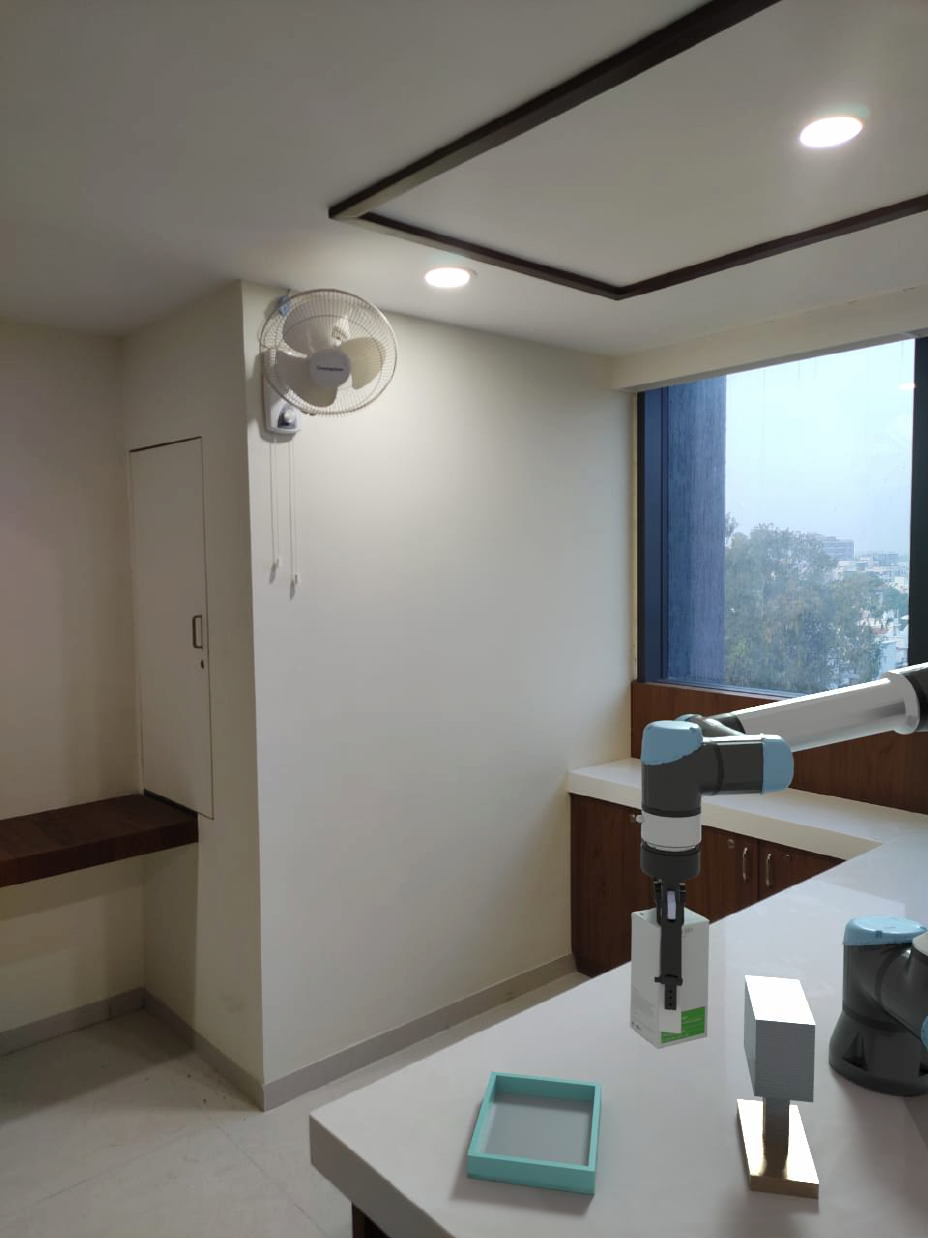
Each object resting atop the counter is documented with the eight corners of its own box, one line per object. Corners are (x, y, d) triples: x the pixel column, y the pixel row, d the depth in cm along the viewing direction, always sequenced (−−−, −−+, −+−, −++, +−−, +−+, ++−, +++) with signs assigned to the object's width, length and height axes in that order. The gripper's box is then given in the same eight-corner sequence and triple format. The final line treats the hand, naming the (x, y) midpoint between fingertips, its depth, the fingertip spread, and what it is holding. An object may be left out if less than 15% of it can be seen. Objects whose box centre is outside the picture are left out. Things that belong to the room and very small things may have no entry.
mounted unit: (796, 1119, 126) (799, 973, 124) (818, 1199, 110) (822, 1033, 109) (737, 1113, 127) (739, 968, 126) (750, 1190, 112) (753, 1027, 110)
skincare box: (657, 1051, 113) (658, 930, 112) (626, 1026, 119) (627, 911, 118) (710, 1036, 116) (712, 919, 115) (678, 1013, 122) (679, 901, 121)
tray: (601, 1103, 129) (601, 1083, 129) (594, 1195, 111) (594, 1171, 111) (491, 1091, 133) (491, 1071, 132) (467, 1178, 114) (467, 1155, 114)
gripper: (640, 816, 127) (639, 969, 129) (640, 869, 106) (638, 1053, 107) (695, 819, 126) (693, 974, 127) (706, 874, 104) (703, 1060, 106)
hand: (668, 1010), depth 117 cm, fingers closed on skincare box, 10 cm apart
